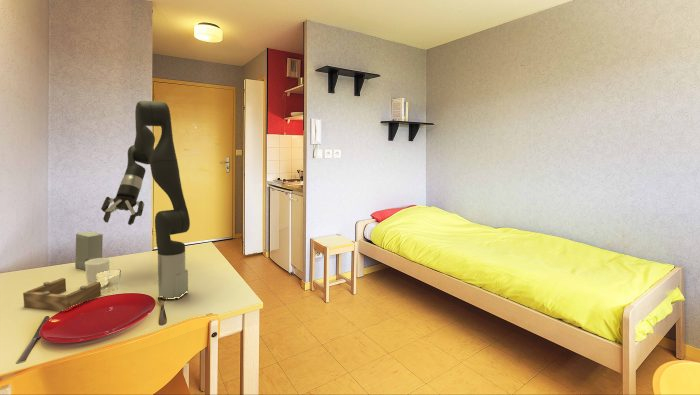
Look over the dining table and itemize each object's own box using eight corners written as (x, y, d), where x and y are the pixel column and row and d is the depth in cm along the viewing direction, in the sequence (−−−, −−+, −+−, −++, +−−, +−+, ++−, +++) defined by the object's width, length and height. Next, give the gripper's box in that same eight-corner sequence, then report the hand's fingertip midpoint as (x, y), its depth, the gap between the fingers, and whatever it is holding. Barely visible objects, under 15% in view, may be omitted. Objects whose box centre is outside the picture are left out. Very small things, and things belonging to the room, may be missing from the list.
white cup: (81, 285, 134) (80, 261, 132) (104, 279, 140) (102, 256, 139) (92, 290, 130) (91, 265, 128) (114, 284, 137) (113, 260, 135)
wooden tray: (101, 294, 127) (100, 280, 126) (66, 311, 113) (65, 295, 113) (62, 290, 129) (61, 276, 128) (24, 306, 115) (22, 290, 114)
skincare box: (74, 268, 151) (72, 233, 149) (91, 263, 157) (89, 230, 155) (88, 271, 148) (86, 236, 146) (104, 266, 155) (103, 232, 153)
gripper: (108, 181, 139) (94, 217, 132) (146, 186, 142) (134, 222, 135) (114, 189, 145) (101, 224, 138) (150, 193, 149) (139, 228, 142)
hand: (117, 223), depth 137 cm, fingers open, 8 cm apart
